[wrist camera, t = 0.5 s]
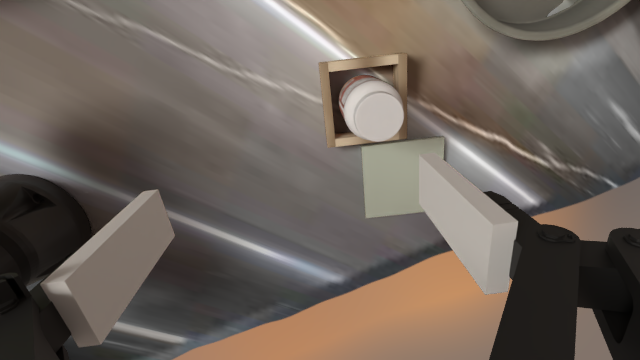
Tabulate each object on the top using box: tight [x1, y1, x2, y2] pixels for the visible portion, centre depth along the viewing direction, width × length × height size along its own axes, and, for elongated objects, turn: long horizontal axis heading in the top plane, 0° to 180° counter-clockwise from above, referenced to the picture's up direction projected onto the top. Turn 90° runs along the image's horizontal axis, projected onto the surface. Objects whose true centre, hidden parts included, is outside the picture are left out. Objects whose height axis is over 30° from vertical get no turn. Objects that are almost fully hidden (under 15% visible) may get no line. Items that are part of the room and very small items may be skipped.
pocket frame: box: [319, 53, 407, 148], centre depth 39 cm, size 10×10×2 cm
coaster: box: [361, 136, 445, 218], centre depth 44 cm, size 11×11×1 cm
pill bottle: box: [339, 75, 404, 142], centre depth 35 cm, size 6×6×11 cm
